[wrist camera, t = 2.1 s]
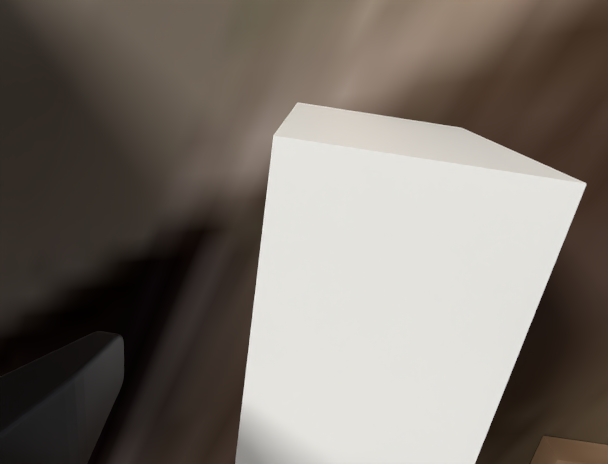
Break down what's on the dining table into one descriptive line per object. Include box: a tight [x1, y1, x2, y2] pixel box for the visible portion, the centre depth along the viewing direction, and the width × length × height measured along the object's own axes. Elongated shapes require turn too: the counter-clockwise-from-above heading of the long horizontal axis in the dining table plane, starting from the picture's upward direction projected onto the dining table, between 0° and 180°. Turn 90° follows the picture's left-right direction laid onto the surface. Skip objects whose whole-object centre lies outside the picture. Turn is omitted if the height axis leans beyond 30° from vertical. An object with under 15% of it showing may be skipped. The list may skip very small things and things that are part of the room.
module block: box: [235, 103, 586, 464], centre depth 10 cm, size 4×8×6 cm, turn 171°
